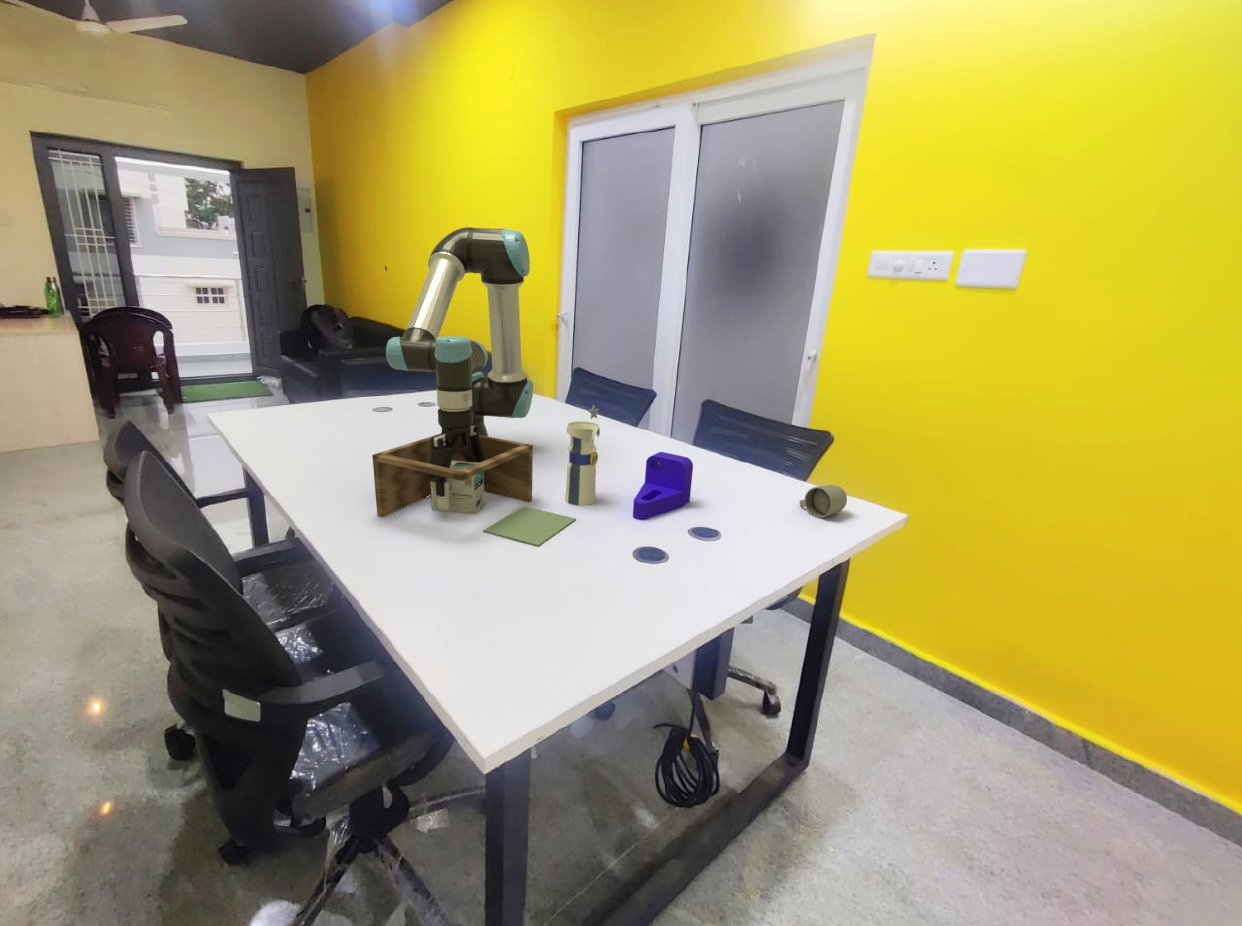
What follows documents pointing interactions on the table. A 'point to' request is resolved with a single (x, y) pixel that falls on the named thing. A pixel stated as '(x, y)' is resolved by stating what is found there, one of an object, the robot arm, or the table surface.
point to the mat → (530, 526)
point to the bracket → (664, 485)
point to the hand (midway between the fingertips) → (458, 501)
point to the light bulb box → (462, 491)
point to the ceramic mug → (824, 500)
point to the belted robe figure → (582, 462)
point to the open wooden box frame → (450, 472)
